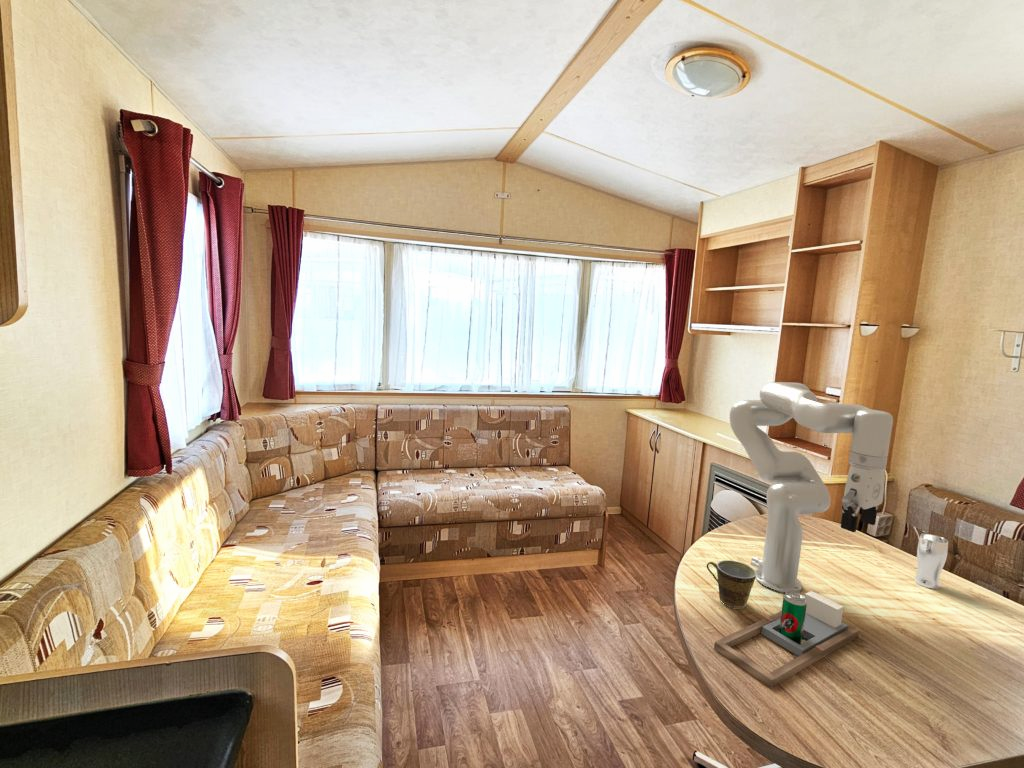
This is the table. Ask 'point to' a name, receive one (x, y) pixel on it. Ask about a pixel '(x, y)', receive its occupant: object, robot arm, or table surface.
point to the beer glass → (930, 560)
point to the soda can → (793, 616)
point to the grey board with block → (811, 625)
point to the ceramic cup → (734, 582)
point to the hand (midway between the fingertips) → (857, 526)
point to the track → (788, 668)
